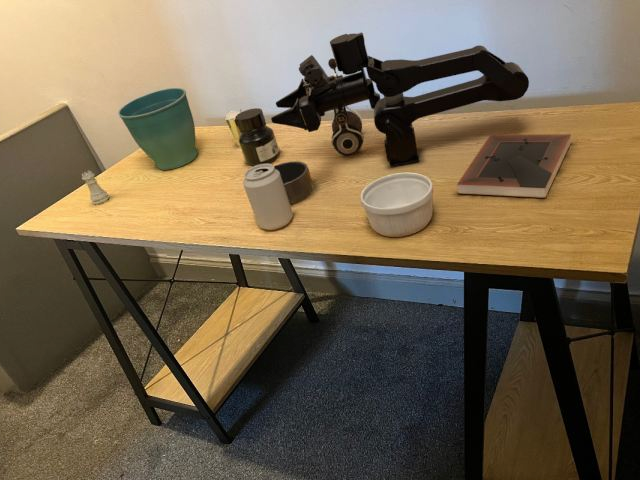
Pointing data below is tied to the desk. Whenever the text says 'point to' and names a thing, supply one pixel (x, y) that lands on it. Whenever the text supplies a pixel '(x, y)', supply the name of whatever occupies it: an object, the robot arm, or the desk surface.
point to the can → (267, 196)
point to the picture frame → (515, 165)
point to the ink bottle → (256, 138)
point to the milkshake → (233, 125)
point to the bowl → (295, 180)
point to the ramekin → (398, 203)
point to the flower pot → (162, 127)
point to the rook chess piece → (95, 188)
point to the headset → (345, 127)
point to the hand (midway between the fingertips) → (274, 112)
